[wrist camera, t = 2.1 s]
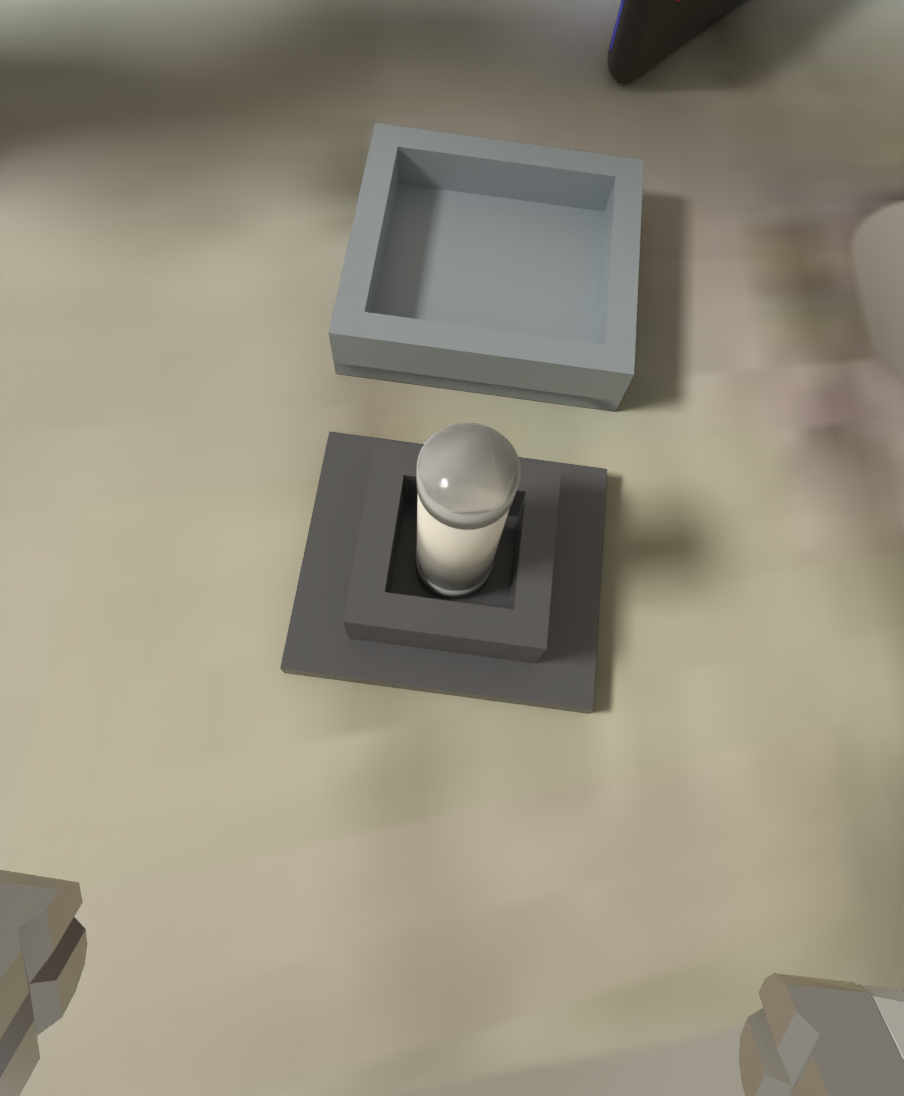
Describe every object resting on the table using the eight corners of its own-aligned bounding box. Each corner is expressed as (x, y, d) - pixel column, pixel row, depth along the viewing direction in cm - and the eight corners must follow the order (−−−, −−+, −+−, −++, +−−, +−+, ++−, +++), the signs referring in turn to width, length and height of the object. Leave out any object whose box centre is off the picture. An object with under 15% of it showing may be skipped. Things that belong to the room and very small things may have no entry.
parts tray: (335, 373, 39) (328, 332, 36) (377, 174, 44) (374, 122, 41) (615, 411, 39) (634, 374, 36) (626, 208, 44) (643, 159, 41)
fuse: (410, 593, 34) (409, 509, 25) (420, 522, 36) (424, 416, 26) (487, 604, 34) (515, 523, 25) (495, 532, 36) (525, 429, 26)
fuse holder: (284, 672, 34) (268, 654, 30) (331, 441, 38) (322, 399, 34) (588, 713, 34) (610, 699, 30) (602, 477, 38) (623, 440, 34)
